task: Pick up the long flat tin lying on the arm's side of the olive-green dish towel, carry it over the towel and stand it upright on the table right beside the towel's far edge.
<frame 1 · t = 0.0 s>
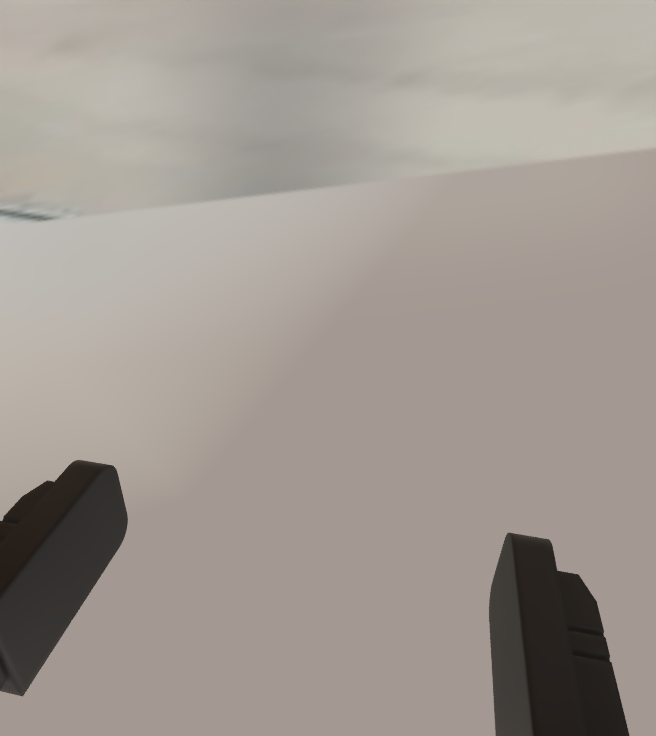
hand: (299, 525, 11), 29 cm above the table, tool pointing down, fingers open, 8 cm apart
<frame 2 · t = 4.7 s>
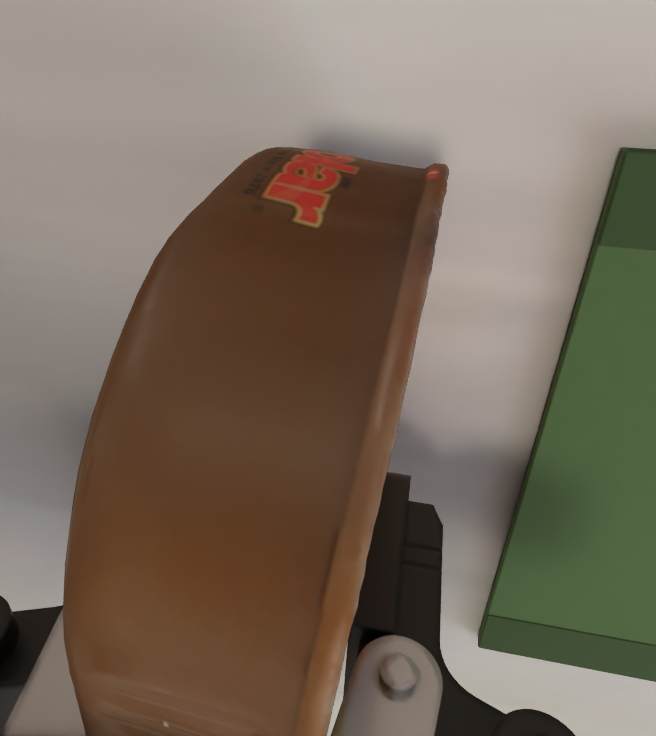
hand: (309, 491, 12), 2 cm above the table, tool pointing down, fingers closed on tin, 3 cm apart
tin: (320, 430, 14), on the table, touching gripper
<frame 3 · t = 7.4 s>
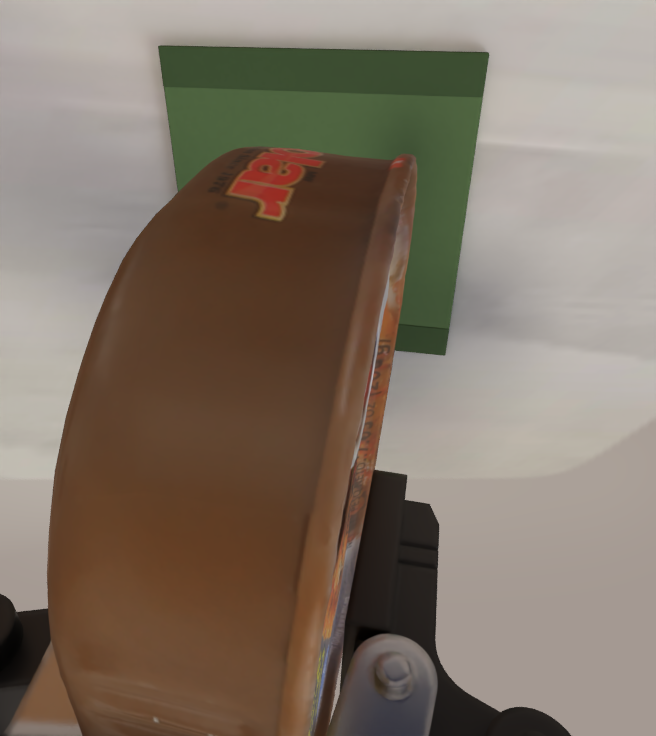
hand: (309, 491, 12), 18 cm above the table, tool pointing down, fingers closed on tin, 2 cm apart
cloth: (317, 214, 27), on the table
tin: (316, 429, 14), point 16 cm above the table, touching gripper
when the fingers open (2 cm above the table, at t = 10.6 s): tin stays where it is, on the table.
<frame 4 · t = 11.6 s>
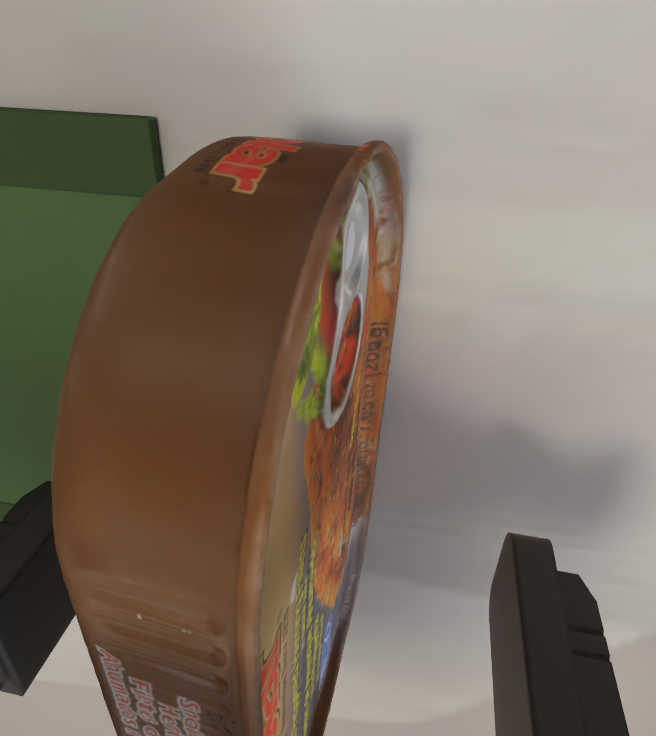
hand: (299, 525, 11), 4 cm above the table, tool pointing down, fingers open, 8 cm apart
tin: (323, 410, 15), on the table
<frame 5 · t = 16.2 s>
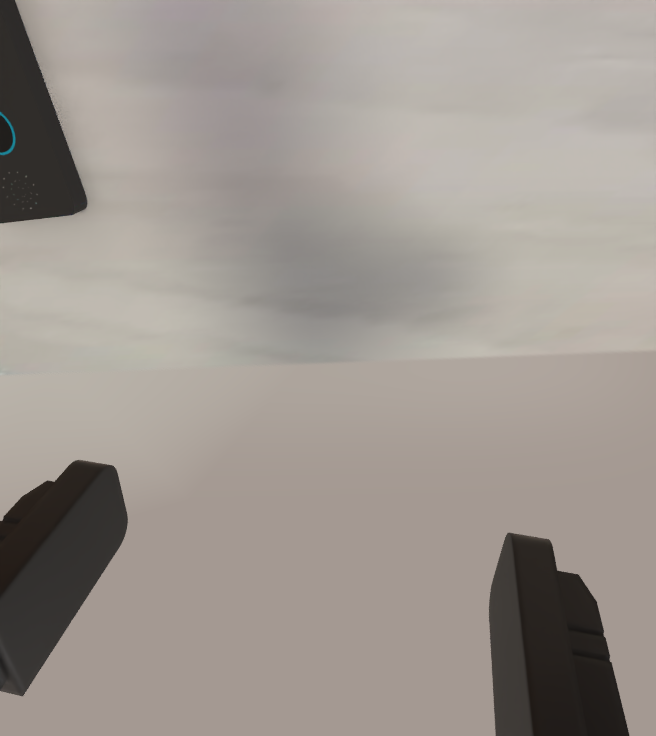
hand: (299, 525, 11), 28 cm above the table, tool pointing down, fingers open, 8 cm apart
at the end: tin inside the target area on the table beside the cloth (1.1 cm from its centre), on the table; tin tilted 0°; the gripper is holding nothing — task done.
